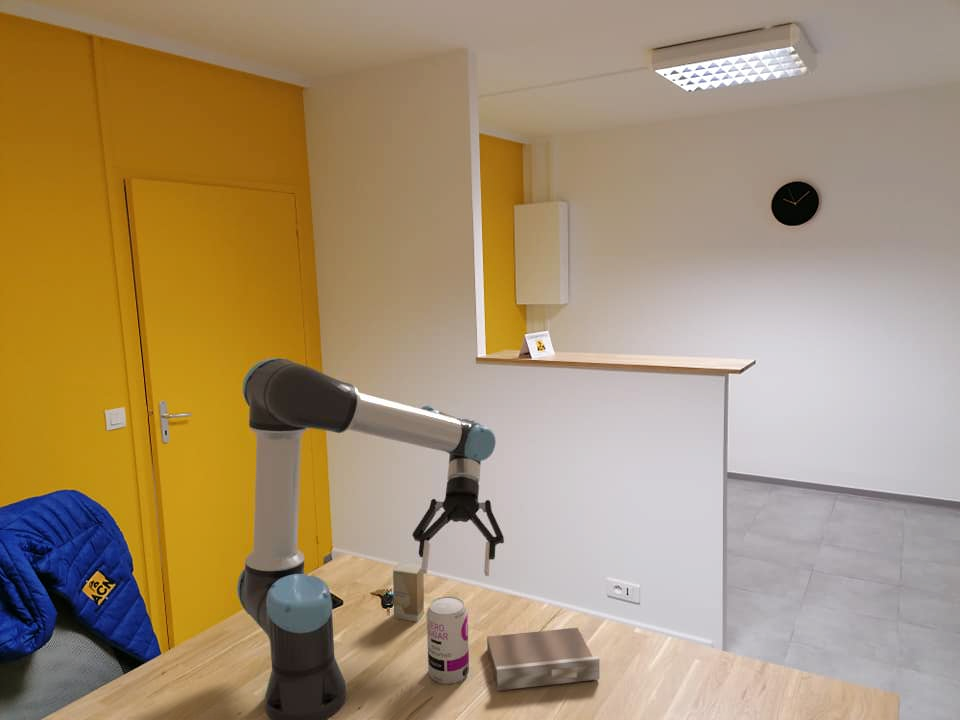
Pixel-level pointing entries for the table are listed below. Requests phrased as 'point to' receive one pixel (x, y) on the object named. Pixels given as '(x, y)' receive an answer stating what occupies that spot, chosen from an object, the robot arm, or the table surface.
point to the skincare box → (408, 592)
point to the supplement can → (447, 640)
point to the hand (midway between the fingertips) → (455, 572)
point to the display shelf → (541, 658)
